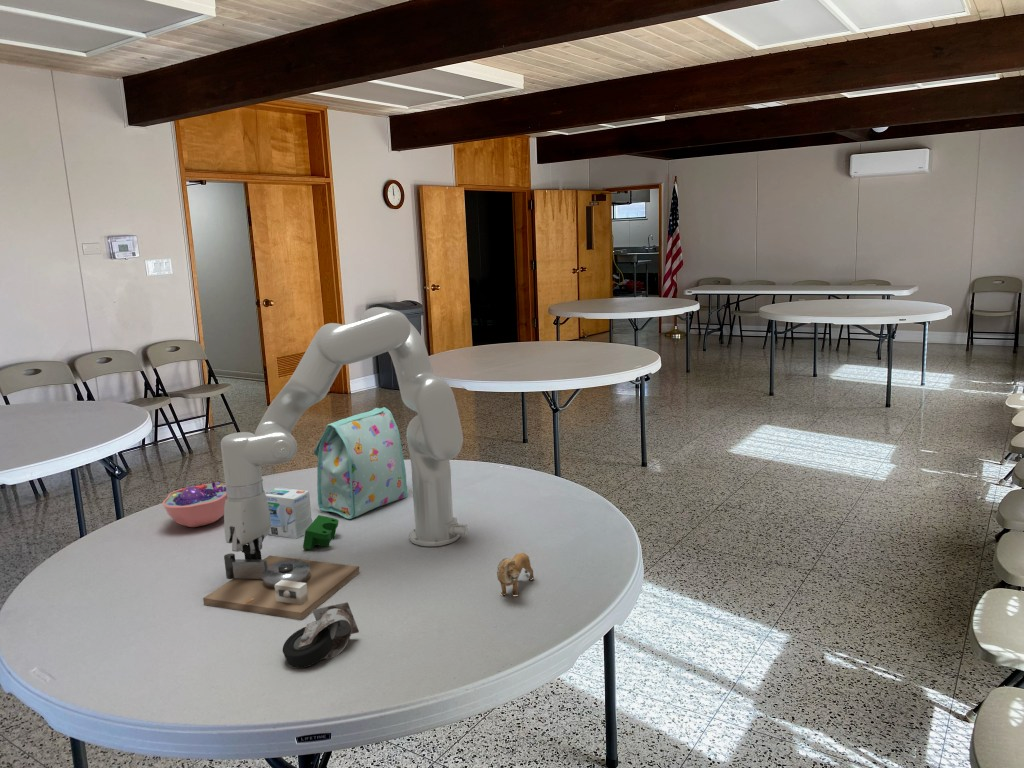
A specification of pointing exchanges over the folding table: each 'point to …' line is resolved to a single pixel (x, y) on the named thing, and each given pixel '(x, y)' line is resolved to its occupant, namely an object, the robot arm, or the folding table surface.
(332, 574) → the stand base
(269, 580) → the crank wheel
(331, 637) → the caster wheel
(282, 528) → the light bulb box
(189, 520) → the cell model
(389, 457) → the lunch bag
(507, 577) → the lion figurine
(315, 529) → the clamp
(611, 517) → the folding table surface
